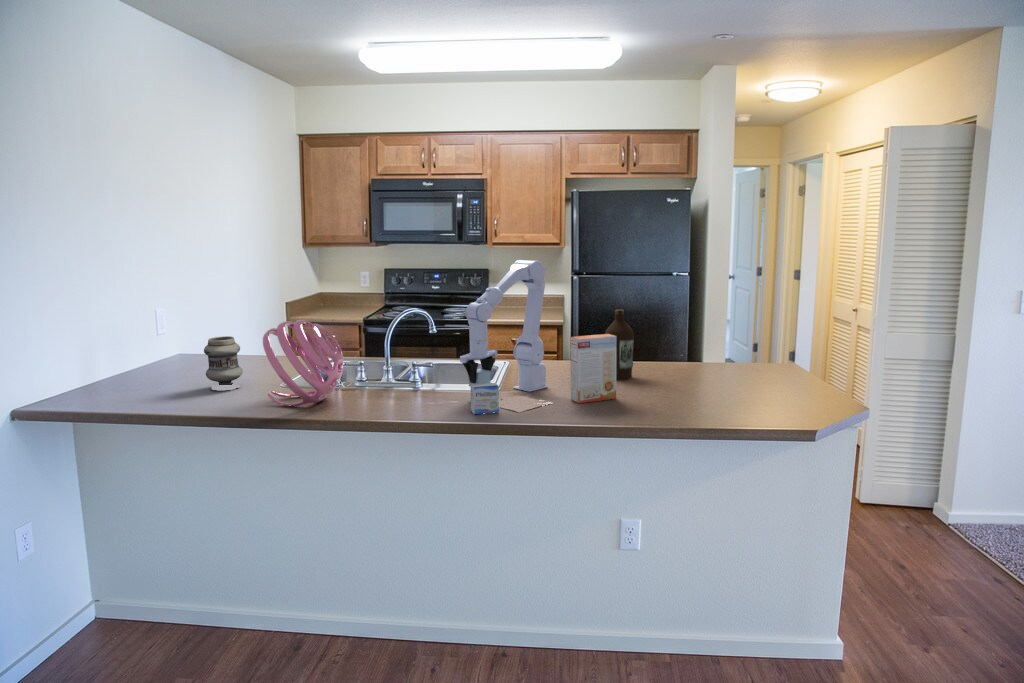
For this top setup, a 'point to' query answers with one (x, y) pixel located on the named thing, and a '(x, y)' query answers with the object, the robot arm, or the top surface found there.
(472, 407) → the medicine box
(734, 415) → the top surface
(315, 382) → the spiral basket
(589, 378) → the cracker box
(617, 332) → the olive oil
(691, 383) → the top surface
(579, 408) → the top surface
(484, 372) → the blue cube
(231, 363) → the apothecary jar
